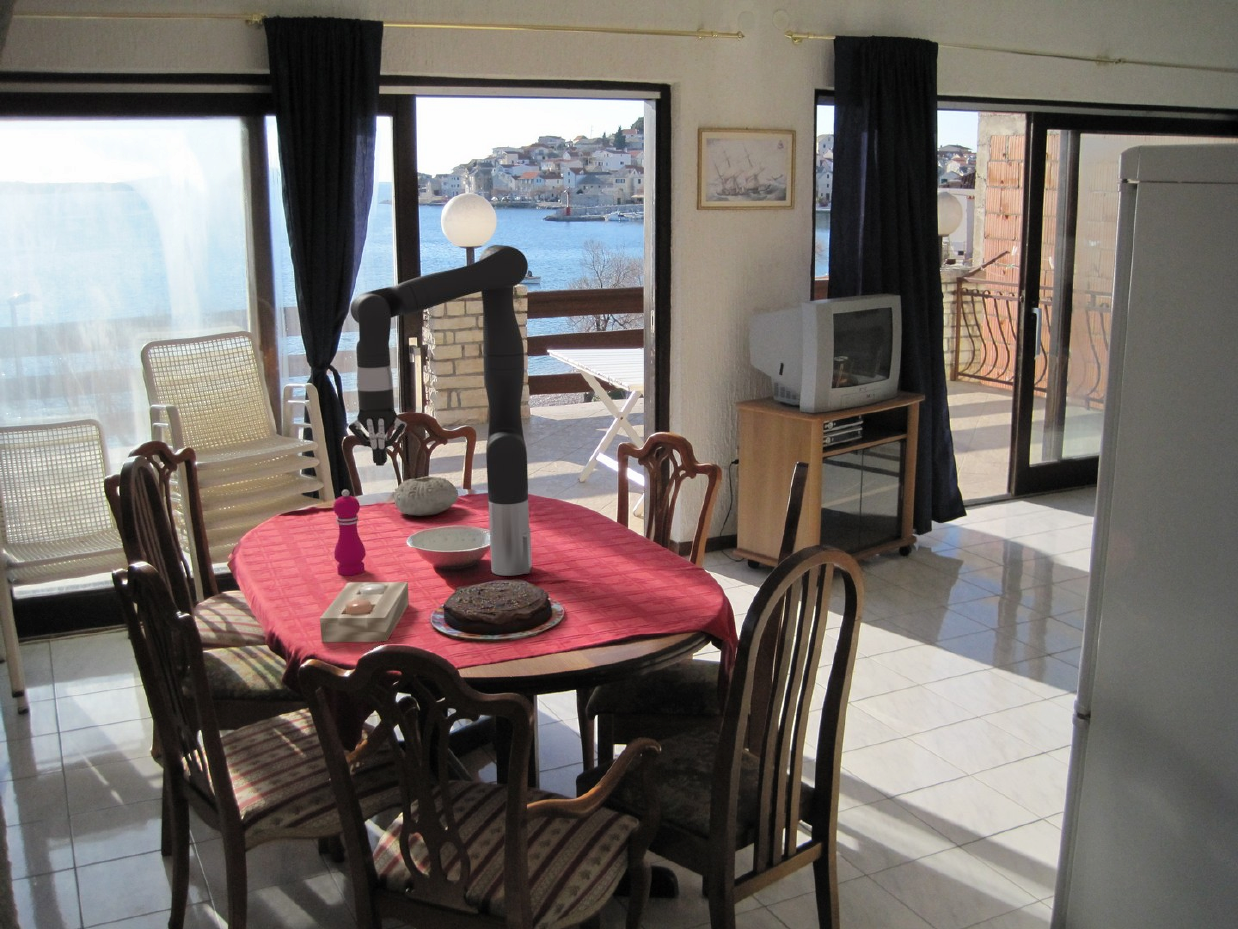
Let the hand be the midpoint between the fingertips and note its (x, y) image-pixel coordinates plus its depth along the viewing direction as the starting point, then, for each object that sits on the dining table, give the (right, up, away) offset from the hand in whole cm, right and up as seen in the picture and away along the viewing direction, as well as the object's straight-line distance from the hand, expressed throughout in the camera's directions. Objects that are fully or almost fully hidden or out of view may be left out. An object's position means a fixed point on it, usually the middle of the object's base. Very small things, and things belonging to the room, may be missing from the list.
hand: (380, 464), depth 256 cm
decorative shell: (-2, -14, +72) cm, 73 cm away
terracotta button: (0, -31, -19) cm, 37 cm away
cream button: (0, -29, -8) cm, 30 cm away
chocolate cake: (+27, -33, -12) cm, 44 cm away
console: (0, -33, -13) cm, 35 cm away
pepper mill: (-11, -25, +21) cm, 35 cm away
